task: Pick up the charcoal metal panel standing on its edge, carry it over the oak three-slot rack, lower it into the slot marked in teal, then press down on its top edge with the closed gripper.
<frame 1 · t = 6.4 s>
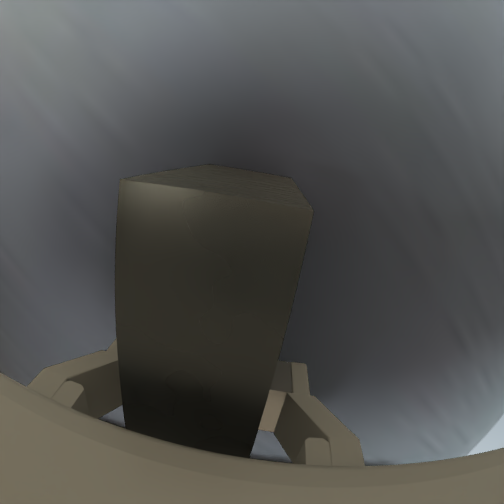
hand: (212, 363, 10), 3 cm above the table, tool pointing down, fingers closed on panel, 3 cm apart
panel: (226, 317, 13), on the table, touching gripper
when the fingers open (6 cm above the table, at t = 13.1 s): panel drops 1 cm, resting on rack.
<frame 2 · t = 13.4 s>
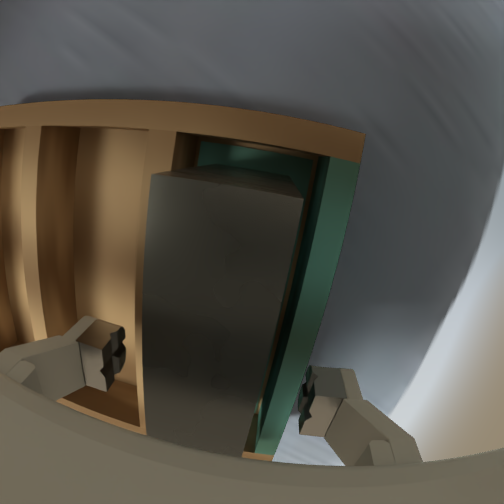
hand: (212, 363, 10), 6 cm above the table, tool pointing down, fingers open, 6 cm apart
rack: (122, 268, 16), on the table
panel: (230, 303, 14), point 1 cm above the table, touching rack
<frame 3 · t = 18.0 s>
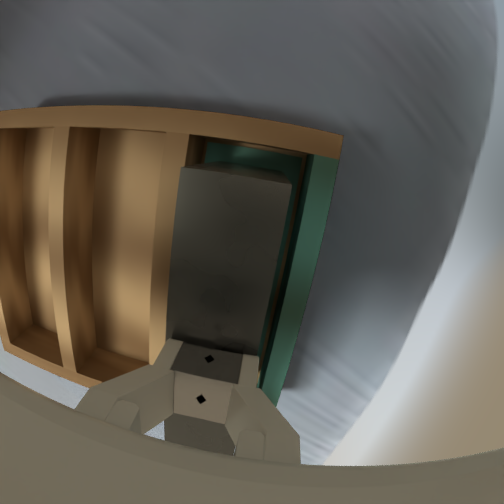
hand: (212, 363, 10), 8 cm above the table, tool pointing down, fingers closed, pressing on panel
rack: (135, 253, 18), on the table
panel: (232, 281, 17), point 1 cm above the table, touching gripper, rack
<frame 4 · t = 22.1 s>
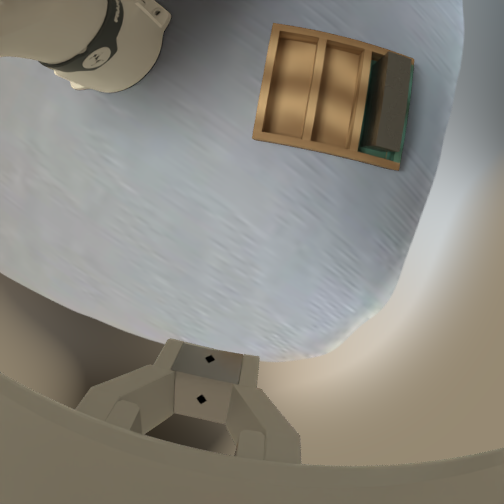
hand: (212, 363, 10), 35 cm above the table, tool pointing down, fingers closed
rack: (333, 97, 38), on the table
panel: (377, 107, 37), point 1 cm above the table, touching rack
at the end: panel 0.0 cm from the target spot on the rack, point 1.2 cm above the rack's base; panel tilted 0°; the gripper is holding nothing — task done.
